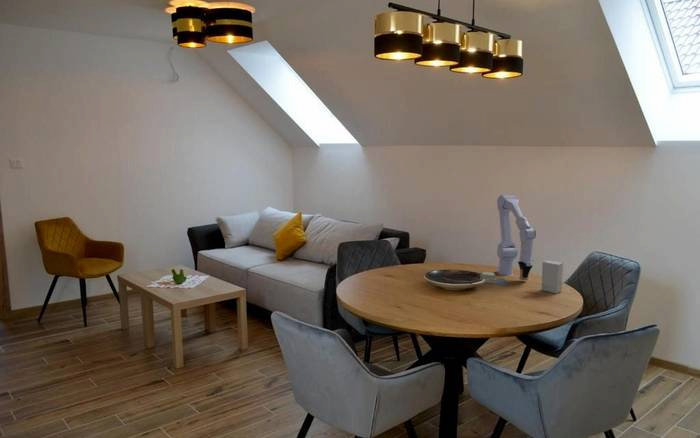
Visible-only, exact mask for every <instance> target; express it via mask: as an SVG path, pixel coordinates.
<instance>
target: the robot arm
mask: <svg viewBox="0 0 700 438" xmlns="http://www.w3.org/2000/svg"><path fill="white" fill-rule="evenodd" d="M519 202H520V200H519V198H518V196H517V195H516V194H510V195H508V194H504V195H503V194H501V195H498V198H497V199H496V203H497V210H498V214H499V215H498V217H499V225H500V237H501V242H500V243H498V245H497V251H496V254H497V257H498V259H499V261H498V269H497V270H496V273H497V274H498V275H499V276H515V274H514V273H513V272H514V271H513V270H514V260H515V259H516V258H517V257H518V249H517V245H516V243H515V242H514V241H512V231H511V220H510V219H511V218H510V212H512V214H513V216H514V218H515V223H516V226H517V228H518V231H519V234H518V235H519V238H520V241H519V242H520V251H519V252H520V253H519V258H518V259H519V261H517V263H518V267H519V270H520V269H522V273H523V278H527V277H528V278H529V275H528V274H530V271H531V269H532V268H533V264H532V262H534V259H532V255H533V244H534V239H535V238H536V236H537V232H536V229H535V228H534V227H532V226H531V225H530V223H529V221H528V219H527V217H526V216H523V214H522V211H521V208H520V206H519V205H520V204H519Z"/></svg>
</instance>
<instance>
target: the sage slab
mask: <svg viewBox="0 0 700 438" xmlns="http://www.w3.org/2000/svg"><path fill="white" fill-rule="evenodd" d="M480 275H481V276H482V277H483V279H495V278H496V275H495V273H494V272H489V271H487V272H486V271H481V274H480Z"/></svg>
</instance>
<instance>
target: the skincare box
mask: <svg viewBox="0 0 700 438" xmlns="http://www.w3.org/2000/svg"><path fill="white" fill-rule="evenodd" d="M541 268H542V269H541V270H542V271H541V291H542V290H543V291H542V292H547V291H548V292H547V293H552V294H556V293H557V294H560V293H562V292H563V291H562V290H563V270H564V269H563V268H564V263H563V262H560V261H554V260H545V261H542V267H541ZM559 292H560V293H559Z"/></svg>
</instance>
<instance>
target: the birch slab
mask: <svg viewBox="0 0 700 438" xmlns="http://www.w3.org/2000/svg"><path fill="white" fill-rule="evenodd" d="M480 276H481V274H480V275H479V277H480ZM481 278H482V279H483V277H482V276H481ZM496 278H497V277H495V279H485V282H484V283H496Z"/></svg>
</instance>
